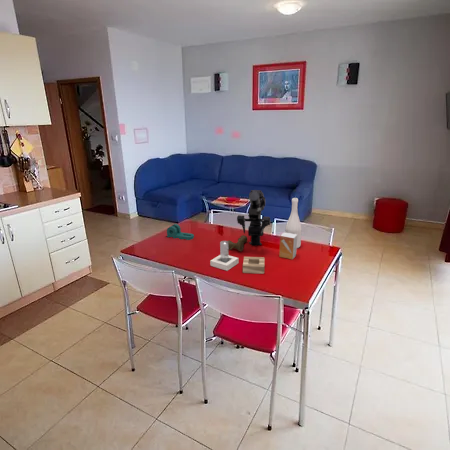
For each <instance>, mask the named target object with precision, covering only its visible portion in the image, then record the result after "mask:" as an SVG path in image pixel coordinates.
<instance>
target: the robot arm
mask: <svg viewBox="0 0 450 450" xmlns="http://www.w3.org/2000/svg"><path fill="white" fill-rule="evenodd" d="M248 199H249V204H250V206H249V208H248V217H245V215H237V217H236V221H237V224H239V226H241V227H242V230H243V231H242V232H243V234H246V222H250V223H249V226H248V227H247V228H248V229H247V232H248V236H249V237H250V241H248V243H249V244H250V246H251V247H259V246H262V245H263V243H262V242H261V237H263V236H264V230H265V228H267V227H268V226H270V225H271V217H270V216H261V215H262V211H264V210H265V207H266V197H265V196H264V193H263V192H262V190H257V189H254V190H252V189H251V190H250V192H249V194H248ZM261 217H262V218H261Z"/></svg>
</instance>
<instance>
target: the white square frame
mask: <svg viewBox="0 0 450 450" xmlns="http://www.w3.org/2000/svg"><path fill="white" fill-rule="evenodd" d="M209 262H210V263H209V264H210V267H214V268H216V269H220V270H224V271H226V272H228V271H229V270H230V269H232V268H233V267H235V266H236V265H238V264H239V263H240V262H239V257H236V256H232V255H229V261H228V262H227V263H224V262H221V255H220V254H218V256H216V257H214V258H213V259H211V260H210V261H209Z"/></svg>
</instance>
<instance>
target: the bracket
mask: <svg viewBox="0 0 450 450" xmlns="http://www.w3.org/2000/svg"><path fill="white" fill-rule="evenodd" d="M181 230H182V229H181V226H180V225H179V224H177V223H174V224H172V225H171V226H169V227H167V228H166V238H169V237H173V238H172V239H176V238H179V239H178V240H183V239H186V240H185V241H192V240H194V239H193V238H195V235H194V234H193V233H189V232H183V231H181ZM191 239H192V240H191Z"/></svg>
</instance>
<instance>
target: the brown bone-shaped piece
mask: <svg viewBox="0 0 450 450" xmlns="http://www.w3.org/2000/svg"><path fill="white" fill-rule="evenodd" d="M248 239H249V238H248V237H247V235H243V234H242V235H240V237H239V238H238V239H237V242H233V241H231V240H227V241H228V248H229V250H233V249H234V250H238V252H240V253H242V252H243V250H244V247H245V245H244V244H247V243H248V242H249V241H248Z"/></svg>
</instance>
